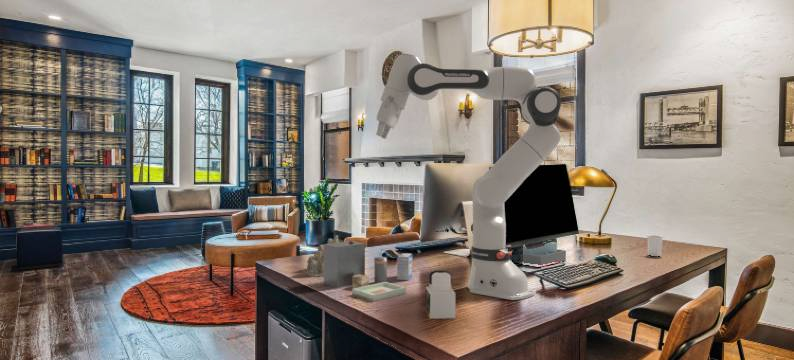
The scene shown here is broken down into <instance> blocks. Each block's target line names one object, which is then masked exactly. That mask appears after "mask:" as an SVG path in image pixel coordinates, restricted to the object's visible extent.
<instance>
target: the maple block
mask: <svg viewBox="0 0 794 360" xmlns="http://www.w3.org/2000/svg"><path fill="white" fill-rule="evenodd" d="M368 285H370V275H367V274H365V275H362V274H359V275H355V276H353V285H351V286H352V287H351V288H352V289H354V288H358V287H363V286H368Z"/></svg>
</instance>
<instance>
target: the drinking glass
mask: <svg viewBox="0 0 794 360" xmlns="http://www.w3.org/2000/svg"><path fill="white" fill-rule="evenodd" d="M663 237H664V236H663V235H658V234H647V235H646V238H647V242H646V243H647V256H648V255H653V256H660V255H661V256H663V255H662V251H663Z"/></svg>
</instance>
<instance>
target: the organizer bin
mask: <svg viewBox="0 0 794 360" xmlns="http://www.w3.org/2000/svg"><path fill="white" fill-rule="evenodd" d="M566 255H567V250H563V249H558V248H557V252H555V253H551V254H547V255H546V253H545V254H544V255H542V256H537V255H530V254H524V253H523V262H524V263H530V264H538V265H543V264H548V263H552V262H561V261H567V258H566V257H567V256H566Z"/></svg>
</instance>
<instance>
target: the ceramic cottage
mask: <svg viewBox="0 0 794 360" xmlns="http://www.w3.org/2000/svg"><path fill="white" fill-rule="evenodd" d="M339 242H340V241H339V235H334V238H333V239H332V238H327V243H326V244H331V243H339ZM306 261H307V262H306V263H307V265H306V266H307V270H306V271H305V275H306V276H308V277H312V278H316V277H324V244H319V246H318V249H317V250H315V252H314V254H313V255H310V256H309V257H308V259H307V260H306Z"/></svg>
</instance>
